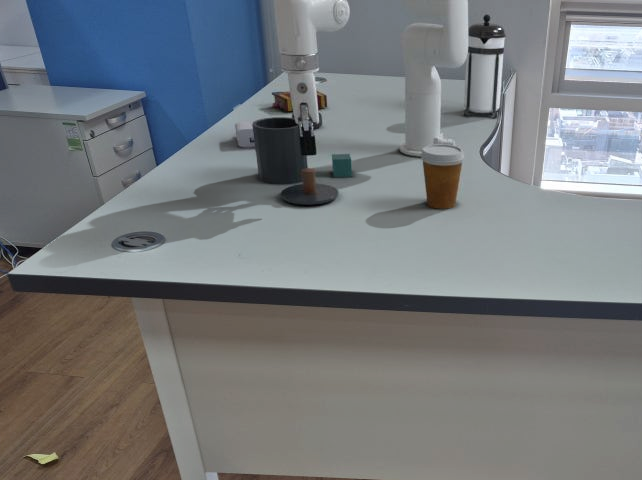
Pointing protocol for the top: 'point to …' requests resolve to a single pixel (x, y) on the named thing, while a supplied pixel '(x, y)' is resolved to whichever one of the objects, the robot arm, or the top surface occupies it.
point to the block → (341, 165)
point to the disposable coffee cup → (442, 174)
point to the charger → (245, 134)
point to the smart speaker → (315, 122)
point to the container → (278, 150)
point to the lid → (309, 190)
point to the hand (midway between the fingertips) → (308, 148)
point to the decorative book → (285, 102)
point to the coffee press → (484, 68)
